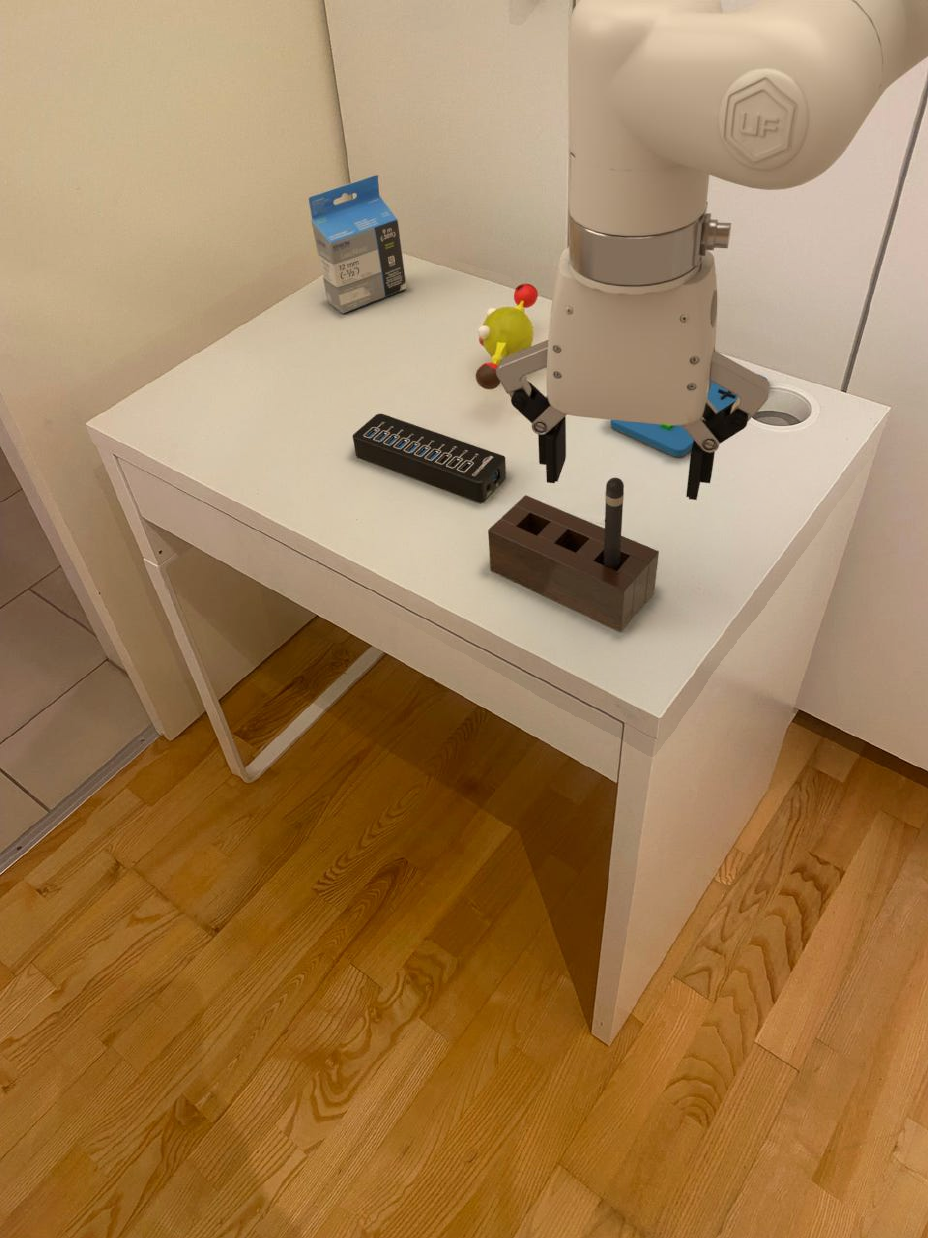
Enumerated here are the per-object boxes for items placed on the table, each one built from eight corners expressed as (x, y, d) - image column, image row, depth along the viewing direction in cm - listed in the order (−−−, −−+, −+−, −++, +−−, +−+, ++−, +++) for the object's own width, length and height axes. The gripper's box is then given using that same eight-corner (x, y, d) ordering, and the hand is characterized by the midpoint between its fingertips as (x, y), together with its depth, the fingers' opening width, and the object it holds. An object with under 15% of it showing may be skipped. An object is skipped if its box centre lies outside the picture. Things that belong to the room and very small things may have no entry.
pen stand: (526, 535, 81) (525, 494, 78) (654, 592, 76) (659, 551, 73) (490, 570, 79) (487, 529, 75) (620, 632, 73) (624, 591, 70)
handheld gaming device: (770, 375, 93) (681, 449, 86) (768, 385, 94) (680, 459, 87) (698, 348, 97) (607, 416, 90) (697, 357, 98) (607, 426, 91)
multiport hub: (381, 431, 93) (378, 411, 91) (508, 476, 87) (507, 456, 85) (353, 455, 91) (350, 435, 89) (481, 504, 85) (480, 483, 83)
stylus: (619, 593, 76) (625, 474, 65) (616, 605, 75) (623, 487, 65) (603, 591, 76) (607, 472, 66) (600, 603, 76) (604, 485, 65)
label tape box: (342, 315, 109) (323, 208, 100) (325, 301, 111) (306, 195, 102) (407, 290, 112) (395, 184, 103) (390, 277, 114) (376, 172, 105)
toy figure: (502, 323, 106) (500, 264, 101) (551, 327, 104) (551, 268, 99) (458, 417, 94) (453, 356, 89) (513, 423, 93) (511, 362, 88)
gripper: (797, 217, 55) (756, 460, 67) (505, 205, 59) (517, 435, 71) (789, 280, 50) (746, 529, 62) (471, 262, 54) (490, 498, 66)
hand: (624, 479), depth 67 cm, fingers open, 9 cm apart
